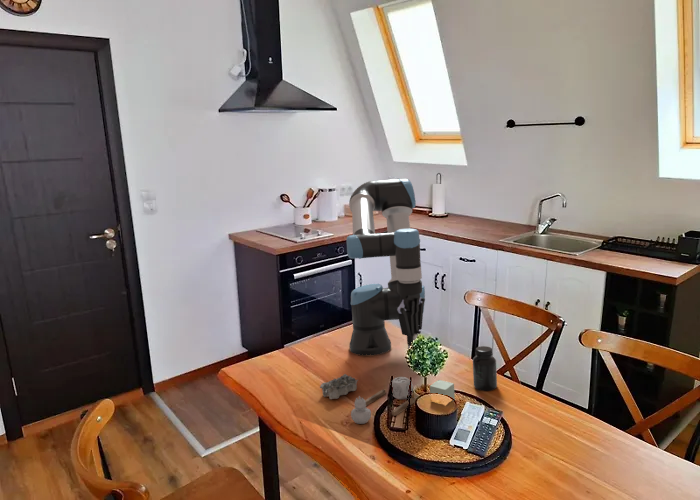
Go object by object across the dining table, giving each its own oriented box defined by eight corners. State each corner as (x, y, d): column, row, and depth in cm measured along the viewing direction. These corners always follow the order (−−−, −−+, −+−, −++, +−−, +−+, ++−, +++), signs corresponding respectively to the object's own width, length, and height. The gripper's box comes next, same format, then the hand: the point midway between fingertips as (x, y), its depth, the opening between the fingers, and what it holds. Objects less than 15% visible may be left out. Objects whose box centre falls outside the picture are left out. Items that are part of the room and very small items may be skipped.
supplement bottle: (488, 380, 155) (487, 343, 154) (501, 388, 149) (500, 350, 147) (469, 384, 153) (467, 347, 152) (481, 393, 147) (480, 354, 145)
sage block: (439, 395, 147) (438, 379, 147) (454, 399, 144) (453, 383, 143) (430, 402, 144) (429, 385, 143) (445, 406, 140) (445, 389, 140)
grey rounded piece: (350, 427, 133) (348, 399, 131) (352, 415, 139) (350, 388, 138) (371, 427, 132) (368, 398, 131) (372, 415, 138) (370, 388, 137)
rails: (383, 393, 152) (382, 389, 152) (415, 402, 144) (414, 398, 144) (362, 405, 145) (362, 401, 144) (394, 416, 137) (394, 412, 137)
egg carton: (332, 401, 147) (330, 387, 147) (319, 395, 154) (317, 382, 153) (361, 389, 153) (359, 376, 153) (347, 383, 159) (345, 371, 159)
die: (400, 390, 153) (399, 375, 152) (413, 394, 149) (412, 378, 149) (390, 397, 149) (389, 381, 148) (404, 401, 146) (403, 384, 145)
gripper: (410, 274, 157) (414, 345, 161) (386, 284, 148) (391, 359, 152) (431, 276, 152) (434, 349, 156) (407, 286, 143) (411, 364, 147)
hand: (413, 354), depth 154 cm, fingers closed
